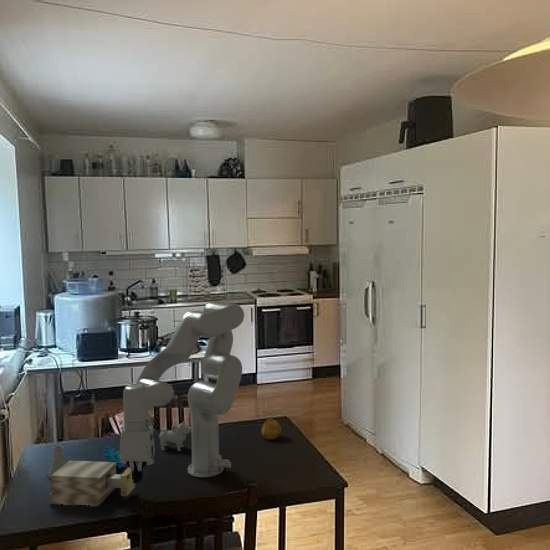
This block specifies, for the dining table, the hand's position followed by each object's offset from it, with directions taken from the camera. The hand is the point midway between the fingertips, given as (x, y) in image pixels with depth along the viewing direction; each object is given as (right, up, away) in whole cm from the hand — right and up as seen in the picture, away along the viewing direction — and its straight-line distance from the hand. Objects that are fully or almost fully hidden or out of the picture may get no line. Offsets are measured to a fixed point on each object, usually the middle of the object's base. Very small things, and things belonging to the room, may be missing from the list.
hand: (137, 481), depth 170 cm
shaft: (-12, -3, +2) cm, 13 cm away
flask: (-32, -5, +17) cm, 37 cm away
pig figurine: (+4, -3, +41) cm, 41 cm away
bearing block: (-18, -5, +3) cm, 18 cm away
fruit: (+42, -2, +52) cm, 66 cm away
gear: (-14, -4, +24) cm, 29 cm away
